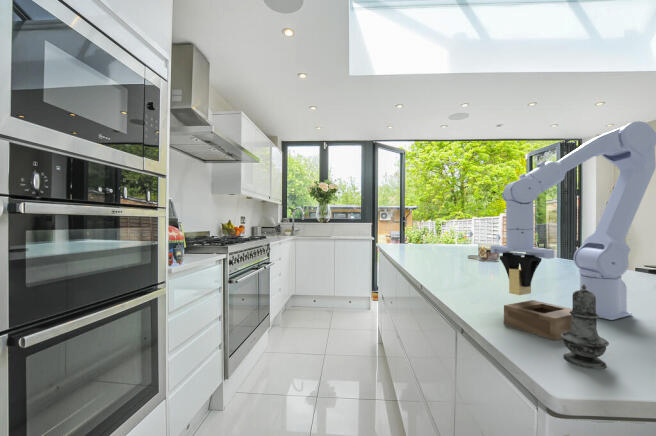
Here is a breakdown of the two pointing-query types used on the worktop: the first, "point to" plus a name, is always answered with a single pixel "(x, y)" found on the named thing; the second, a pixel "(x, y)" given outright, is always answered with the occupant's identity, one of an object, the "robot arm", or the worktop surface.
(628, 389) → the worktop surface
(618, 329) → the worktop surface
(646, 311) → the worktop surface
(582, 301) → the salt shaker
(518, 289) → the block
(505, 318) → the walnut box
